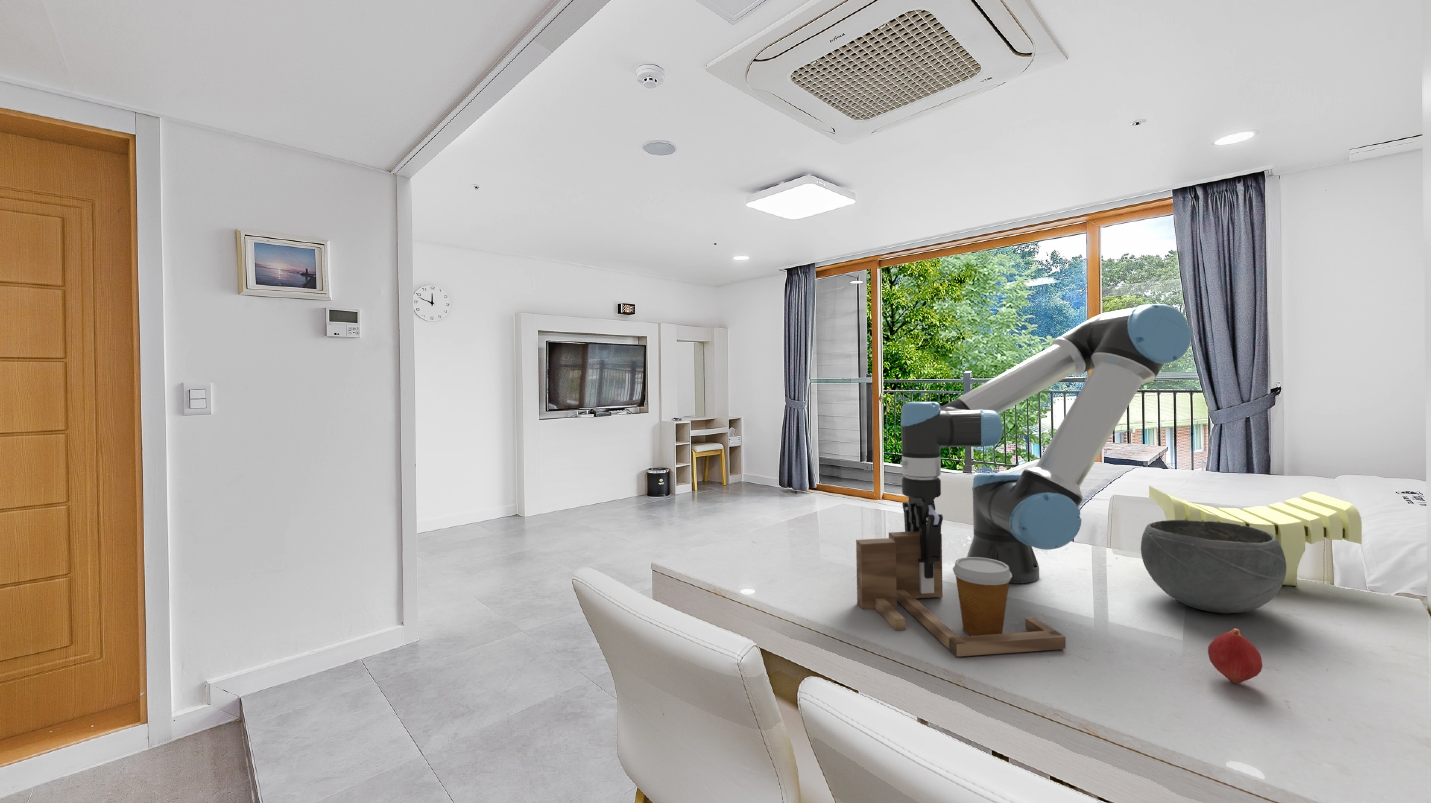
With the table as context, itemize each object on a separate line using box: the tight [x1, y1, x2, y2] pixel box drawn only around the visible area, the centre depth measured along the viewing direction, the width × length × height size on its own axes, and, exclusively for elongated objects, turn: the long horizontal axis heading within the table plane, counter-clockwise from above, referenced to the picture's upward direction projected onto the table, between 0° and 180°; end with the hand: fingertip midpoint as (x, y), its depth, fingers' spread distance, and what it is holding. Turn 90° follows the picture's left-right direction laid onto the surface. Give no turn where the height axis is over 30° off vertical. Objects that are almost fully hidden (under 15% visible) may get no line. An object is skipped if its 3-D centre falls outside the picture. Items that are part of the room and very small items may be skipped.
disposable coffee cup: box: [952, 556, 1012, 636], centre depth 101 cm, size 10×10×12 cm
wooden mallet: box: [855, 537, 906, 631], centre depth 108 cm, size 13×7×13 cm, turn 5°
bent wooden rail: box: [888, 531, 1067, 657], centre depth 105 cm, size 27×19×13 cm
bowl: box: [1140, 519, 1286, 614], centre depth 109 cm, size 21×21×15 cm
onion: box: [1207, 628, 1263, 685], centre depth 82 cm, size 6×6×8 cm
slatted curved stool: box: [1148, 485, 1363, 587], centre depth 125 cm, size 30×16×18 cm, turn 69°
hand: (922, 588), depth 117 cm, fingers closed on bent wooden rail, 3 cm apart
